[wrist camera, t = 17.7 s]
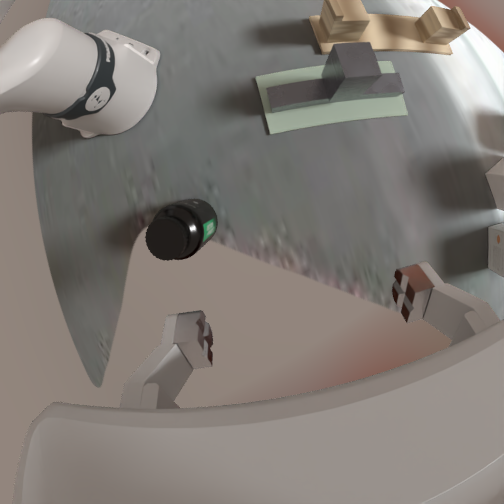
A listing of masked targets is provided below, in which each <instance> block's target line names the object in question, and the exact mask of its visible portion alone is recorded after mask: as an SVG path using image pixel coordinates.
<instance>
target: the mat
mask: <svg viewBox="0 0 504 504" xmlns="http://www.w3.org/2000/svg"><path fill="white" fill-rule="evenodd" d="M377 62H378V65H379V67H380V70H381V73H395V71H394V68H393V65H392V63H391V61H377ZM324 66H325V65H322V66H314V67H307V68H300V69H294V70H288V71H282V72H277V73H272V74H267V75H262V76H258V77H255V78H256V81H257V85H258V89H259V92H260V96H261V100H262V104H263V107H264V111H265V115H266V119H267V123H268V127H269V131H270V135H272V134H277V133H282V132H286V131H292V130H297V129H302V128H308V127H314V126H320V125H326V124H332V123H339V122H346V121H354V120H363V119H372V118H382V117H393V116H407V115H408V113H407V110H406V106H405V102H404V99H403V96H402V94H401V95H400V96H398V97H388V98H373V99H362V100H352V101H343V102H335V103H328V104H321V105H314V106H308V107H302V108H297V109H291V110H286V111H281V112H276V113H272V110H271V106H270V103H269V99H268V95H267V90H266V88H268V87H273V86H278V85H283V84H288V83H294V82H300V81H307V80H313V79H321V78H322V76H321V74H322V71H323V69H324Z"/></svg>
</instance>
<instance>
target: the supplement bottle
mask: <svg viewBox="0 0 504 504" xmlns="http://www.w3.org/2000/svg"><path fill="white" fill-rule="evenodd" d="M217 225H218V221H217V215H216V213H215V211H214V209H213V208H212V206H211V205H210V204H208V203H207V202H205V201H203V200H200V199H189V200H185V201H181V202H178V203H175V204H171V205H168V206H166V207H164V208H162V209H161V210H160V211H159V212H158V213H157V214H156V215H155V217H154V219H153V222H152V223H151V224H150V225H149V226H148V229H147V232H146V237H145V238H146V243H147V246H148V249H149V250H150V252H151V253H152V254H153V255H154V256H156V258H159V259H162V260H173V259H175V260H183V259H187V258H189V257H191V256H193V255H194V254H195V253H196V252H197V251H198V250H200V249H201V248H202V247H203V246H204V245H205V244H206V243H207V242H208V241H209V240H210V239H211V238H212V237H213V236H214V234H215V232H216V229H217Z"/></svg>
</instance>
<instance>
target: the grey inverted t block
mask: <svg viewBox="0 0 504 504" xmlns="http://www.w3.org/2000/svg"><path fill="white" fill-rule="evenodd" d="M321 76H322V78H321V79H313V80H307V81H300V82H294V83H288V84H283V85H278V86H273V87H268V88H266V90H267V95H268V99H269V103H270V106H271V110H272V113H276V112H281V111H286V110H291V109H297V108H302V107H308V106H314V105H321V104H328V103H335V102H343V101H352V100H362V99H373V98H388V97H398V96H400V95H401V94H403V93H404V92H405V91H404V88H403V85H402V81H401V78H400V75H399V73H381V70H380V67H379V65H378V62H377V59H376V56H375V54H374V51H373V49H372V46H371V43H370V42H354V43H337V44H333V46H332V49H331V51H330V54H329V56H328V59H327V61H326V64H325V66H324V69H323V71H322V74H321Z"/></svg>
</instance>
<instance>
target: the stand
mask: <svg viewBox="0 0 504 504" xmlns="http://www.w3.org/2000/svg"><path fill="white" fill-rule="evenodd" d="M309 21H310V23H311V26H312V28H313V31H314V33H315V36H316V39H317V41H318V44H319V47H320V49H321V52H322V55H324V54H330V51H331V49H332V46H333V44H337V43H354V42H370V43H371V46H372V49H373V51H403V52H423V53H435V54H444V55H451V54H453V53H452V50H451V48H450V45H449V43H450V42H451V41H453V40H454V39H456V38H457V37H459V36H460V35H461V34H463V33H464V32H466V31H467V30H469V29H470V26H469V24H468V22H467V20H466V19H465V17H464V15H463V13H462V11H461V9H460V7H456V6H455V7H453V8H452V9H451V10H449V9H445V8H440V7H435V6H431V7H430V8H429V9H428V10H427V11H426V12H425V13H424V14H423V15H422V16H421V17H420V18H418V17H410V16H399V15H384V14H367V12H366V10H365V8H364V6H363V4H362V2H361V0H324V3H323V7H322V11H321V15H319V16H309Z"/></svg>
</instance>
